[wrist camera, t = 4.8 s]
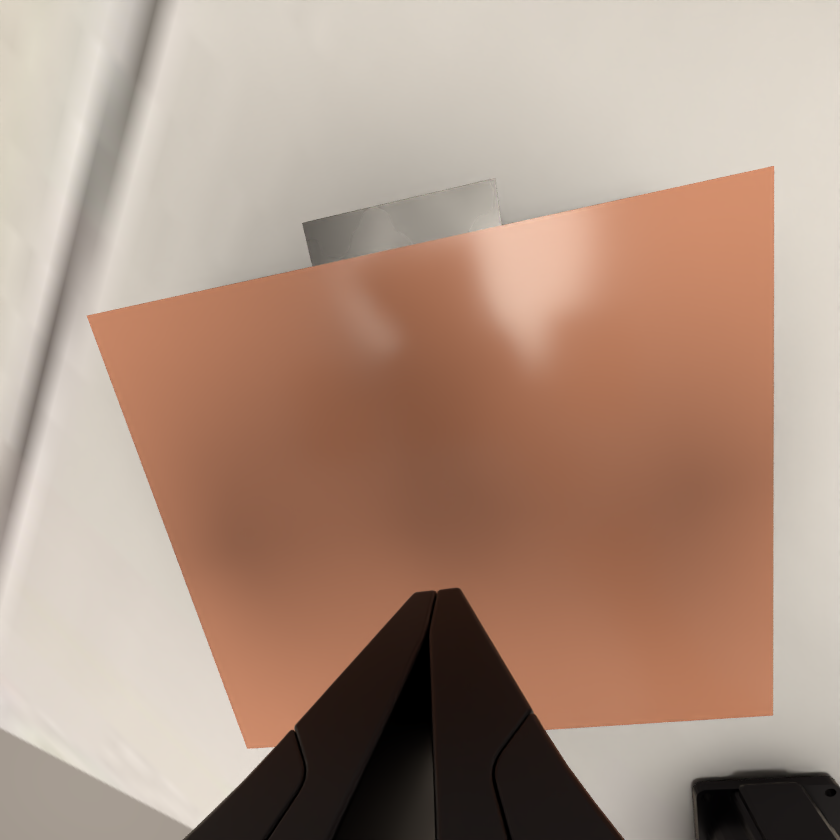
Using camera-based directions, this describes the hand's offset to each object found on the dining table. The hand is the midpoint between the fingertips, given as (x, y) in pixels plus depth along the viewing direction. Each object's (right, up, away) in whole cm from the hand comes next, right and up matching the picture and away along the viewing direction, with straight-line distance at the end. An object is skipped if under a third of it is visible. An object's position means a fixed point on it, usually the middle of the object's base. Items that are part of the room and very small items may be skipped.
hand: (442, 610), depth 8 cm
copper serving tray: (+1, +1, +7) cm, 7 cm away
